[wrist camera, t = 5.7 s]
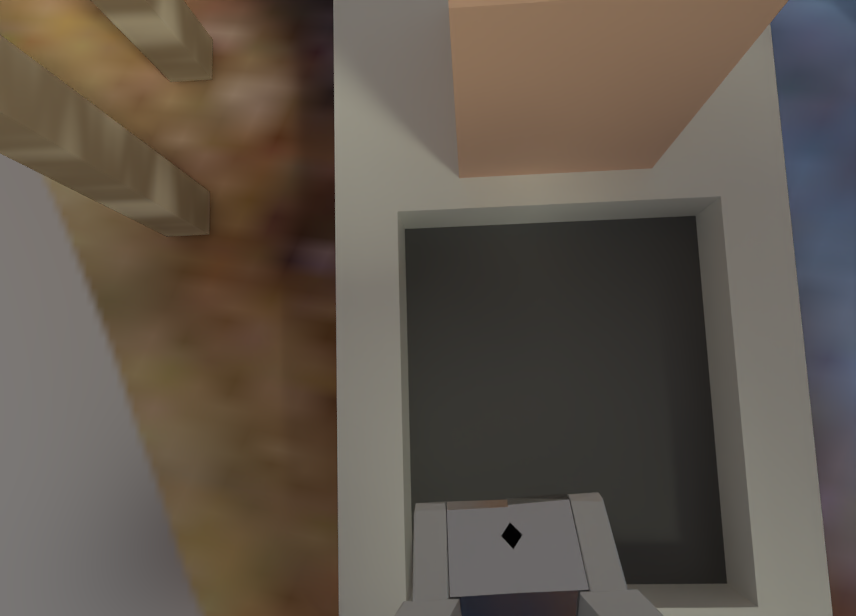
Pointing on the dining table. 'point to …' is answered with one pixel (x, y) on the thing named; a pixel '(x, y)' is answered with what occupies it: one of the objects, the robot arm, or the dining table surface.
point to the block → (588, 78)
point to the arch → (109, 122)
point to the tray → (570, 336)
